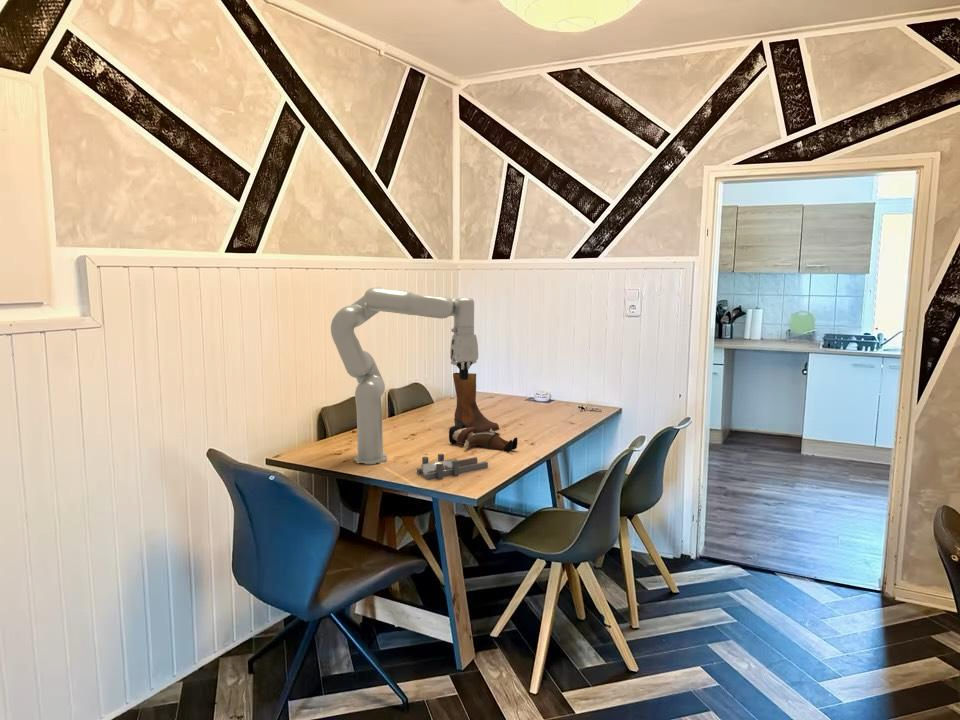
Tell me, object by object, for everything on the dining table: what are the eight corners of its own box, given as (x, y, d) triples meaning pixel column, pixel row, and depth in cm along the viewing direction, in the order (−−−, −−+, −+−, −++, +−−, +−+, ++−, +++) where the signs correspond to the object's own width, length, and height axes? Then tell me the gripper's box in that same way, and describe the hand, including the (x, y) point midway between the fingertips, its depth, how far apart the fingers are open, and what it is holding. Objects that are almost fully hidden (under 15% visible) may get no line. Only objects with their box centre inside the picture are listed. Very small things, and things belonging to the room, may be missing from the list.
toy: (500, 446, 243) (436, 427, 257) (497, 470, 245) (434, 449, 260) (528, 432, 263) (467, 415, 278) (526, 453, 265) (465, 435, 280)
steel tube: (426, 478, 219) (426, 465, 218) (420, 475, 223) (420, 462, 222) (459, 472, 226) (458, 459, 225) (453, 469, 229) (452, 456, 229)
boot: (503, 434, 284) (503, 375, 280) (488, 437, 277) (488, 377, 274) (465, 424, 302) (465, 368, 298) (450, 427, 296) (450, 370, 292)
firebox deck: (414, 475, 226) (414, 458, 225) (472, 463, 240) (472, 447, 239) (431, 484, 216) (430, 466, 215) (490, 471, 230) (490, 455, 229)
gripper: (452, 332, 230) (451, 382, 233) (486, 331, 238) (485, 379, 241) (441, 331, 236) (441, 379, 239) (475, 329, 244) (474, 376, 247)
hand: (463, 379), depth 240 cm, fingers closed
